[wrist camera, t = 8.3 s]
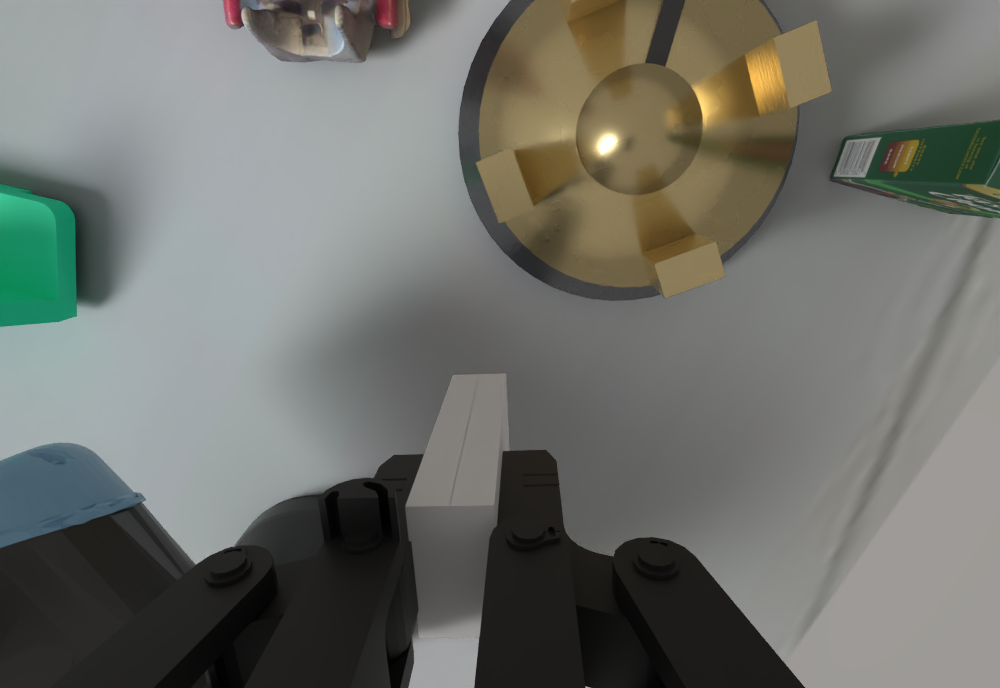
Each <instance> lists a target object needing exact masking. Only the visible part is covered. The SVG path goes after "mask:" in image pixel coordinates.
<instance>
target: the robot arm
mask: <svg viewBox="0 0 1000 688" xmlns="http://www.w3.org/2000/svg"><path fill="white" fill-rule="evenodd" d="M145 500H146V499H145V497H144V496H143V495H142V494H141V493H134V492H133V491H132V490H131V489H130V488H129V487H128V486H127V485H126V484H125V483H124V482H123V480H122V479H121V478H120V477H119V476H118V475H117V474H116V473H115V472H114V471H113V470H112V469H111V468H110V467H109V466H108V465H107V464H106V463H105V462H104V461H103V460H102V459H101V458H100V457H99V456H98V455H97V454H96V453H94V452H93V451H92V450H90V449H88V448H86V447H84V446H81V445H77V444H72V443H53V444H48V445H43V446H39V447H36V448H33V449H30V450H27V451H24V452H22V453H19V454H16V455H14V456H11V457H9V458H6V459H4V460H1V461H0V688H408V686H409V682H410V678H411V673H412V669H413V664H414V650H413V641H412V634H413V630H414V628H415V625H416V623H417V622H418V631H419V638H479V647H478V657H477V667H476V677H475V687H474V688H585V686H587V687H590V688H805V687H804V686H803V685H802V684H801V682H800V681H799V680H798V679H797V678H796V676H795V675H794V674H793V673H792V672H791V670H790V669H789V668H788V667H787V666H786V664H785V663H784V662H783V661H782V660H781V658H780V657H779V656H778V655H777V654H776V652H775V651H774V650H773V649H772V648H771V646H770V645H769V644H768V643H767V642H766V640H765V639H764V638H763V637H762V636H761V634H760V633H759V632H758V631H757V630H756V628H755V627H754V626H753V625H752V624H751V622H750V621H749V620H748V619H747V618H746V616H745V615H744V614H743V613H742V612H741V610H740V609H739V608H738V607H737V606H736V604H735V603H734V602H733V601H732V600H731V599H730V597H729V596H728V595H727V594H726V593H725V591H724V590H723V589H722V588H721V587H720V585H719V584H718V583H717V582H716V581H715V579H714V578H713V577H712V576H711V575H710V573H709V572H708V571H707V570H706V569H705V567H704V566H703V565H702V564H701V563H700V561H699V560H698V559H697V558H696V557H695V556H694V555H693V554H692V553H691V552H690V551H688V550H687V549H686V548H685V547H683V546H681V545H679V544H676V543H674V542H672V541H670V540H665V539H659V538H654V537H649V538H636V539H633V540H630V541H627V542H624V543H623V544H622V545H621V546H620V547H619V548H617V549H616V551H615V554H614V557H612V556H608V555H603V554H599V553H595V552H592V551H589V550H587V549H585V548H582V547H580V546H579V545H577V544H576V543H575V542H573V541H572V540H571V539H570V538H569V536H568V535H567V534H566V532H565V529H564V524H563V515H562V506H561V498H560V489H559V480H558V471H557V462H556V460H555V459H554V458H553V457H552V456H551V455H550V454H549V453H548V452H547V451H546V450H527V451H510V447H509V425H508V403H507V380H506V373H498V374H464V375H453V376H452V379H451V381H450V384H449V387H448V390H447V392H446V395H445V398H444V401H443V403H442V406H441V409H440V412H439V415H438V417H437V420H436V423H435V426H434V428H433V431H432V434H431V437H430V439H429V442H428V445H427V448H426V450H425V453H424V454H420V455H394V456H392V457H391V458H390V459H388V460H387V461H386V462H385V463H383V464H382V465H381V466H380V467H379V469H378V471H377V473H376V475H375V477H374V478H361V479H353V480H349V481H346V482H343V483H340V484H337V485H335V486H333V487H331V488H330V489H328V490H326V491H325V492H324V493H323V494H322V495H321V496H311V497H301V498H296V499H291V500H288V501H285V502H282V503H280V504H277V505H275V506H273V507H271V508H270V509H268V510H267V511H265V512H264V513H262V514H261V515H260V516H259V517H258V518H257V519H256V520H255V521H254V522H253V523H252V524H251V525H250V526H249V528H248V529H247V530H246V531H245V533H244V534H243V535H242V536H241V538H240V539H239V540H238V541H237V543H236V544H235V546H234V547H230V548H227V549H224V550H222V551H220V552H217V553H215V554H212V555H210V556H209V557H207V558H206V559H204V560H203V561H201V562H200V563H198V564H197V565H196V564H195V563H194V562H193V561H192V560H191V559H190V557H189V556H188V555H187V554H186V553H185V552H184V551H183V550H182V548H181V547H180V546H179V545H178V544H177V543H176V542H175V540H174V539H173V538H172V537H171V536H170V535H169V534H168V533H167V531H166V530H165V529H164V528H163V527H162V526H161V524H160V523H159V522H158V521H157V520H156V518H155V517H154V516H153V515H152V514H151V513H150V511H149V510H148V509H147V508H146V507H145V505H144V504H143V503H142V502H143V501H145Z"/></svg>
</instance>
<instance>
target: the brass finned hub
mask: <svg viewBox="0 0 1000 688" xmlns="http://www.w3.org/2000/svg"><path fill="white" fill-rule="evenodd" d="M830 92H832V90H831V85H830V80H829V76H828V71H827V66H826V62H825V57H824V52H823V47H822V43H821V38H820V33H819V28H818V24H817V20H815V21H813V22H810V23H808V24H806V25H803V26H801V27H798V28H796V29H794V30H791V31H789V32H787V33H784V34H782V35H781V33H780V31H779V29H778V27H777V25H776V23H775V22H774V20H773V19H772V17H771V16H770V14H769V13H768V11H767V10H766V8H765V7H764V6H763V5H762V4H761V2H760V1H759V0H535V1H534V2H533V3H532V4H530V5H529V6H528V7H527V9H526V10H525V11H524V12H523V14H522V15H521V16H520V17H519V19H518V20H517V21H516V22H515V23H514V25H513V26H512V28H511V29H510V31H509V33H508V34H507V36H506V37H505V39H504V41H503V42H502V44H501V46H500V48H499V50H498V52H497V54H496V57H495V59H494V61H493V63H492V65H491V68H490V71H489V74H488V77H487V81H486V84H485V87H484V92H483V97H482V102H481V107H480V119H479V146H480V156H481V161H478V162H476V165H477V167H478V170H479V173H480V175H481V178H482V180H483V183H484V186H485V188H486V191H487V193H488V196H489V198H490V201H491V204H492V206H493V209H494V211H495V214H496V217H497V219H498V222H499V223H502V222H504V221H505V222H506V224H507V226H508V227H509V228H510V230H511V231H512V232H513V233H514V235H515V236H516V237H517V238H518V239H519V241H520V242H521V243H522V244H523V245H524V246H525V247H527V248H528V249H529V250H530V251H531V252H532V253H533V254H534V255H535V256H537V257H538V258H539V259H541V260H542V261H544V262H545V263H546V264H548V265H549V266H551V267H553V268H555V269H557V270H558V271H560V272H562V273H564V274H566V275H568V276H571V277H574V278H576V279H579V280H582V281H585V282H589V283H594V284H598V285H602V286H613V287H642V286H648V285H652V286H653V287H654V288H655V289H656V290H657V291H658V292H659V293H660V294H661V295H662V296H663V297H664V298H667V297H670V296H673V295H676V294H678V293H681V292H684V291H687V290H690V289H693V288H695V287H698V286H701V285H704V284H707V283H710V282H712V281H715V280H718V279H721V278H724V277H726V276H725V272H724V269H723V265H722V262H721V258H720V256H721V255H722V254H724V253H725V252H726V251H728V250H729V249H730V248H732V247H733V246H734V245H735V244H736V243H737V242H738V241H739V240H740V239H741V238H742V237H743V236H744V235H746V234H747V233H748V231H749V230H750V229H751V228H752V227H753V225H754V224H755V223H756V222H757V221H758V219H759V218H760V217H761V216H762V214H763V213H764V211H765V210H766V208H767V206H768V205H769V203H770V202H771V200H772V199H773V197H774V195H775V193H776V191H777V189H778V187H779V185H780V183H781V181H782V179H783V176H784V174H785V171H786V168H787V165H788V162H789V160H790V157H791V152H792V148H793V143H794V139H795V133H796V123H797V114H798V112H797V105H800V104H802V103H805V102H807V101H810V100H812V99H815V98H817V97H820V96H823V95H825V94H828V93H830Z"/></svg>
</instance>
